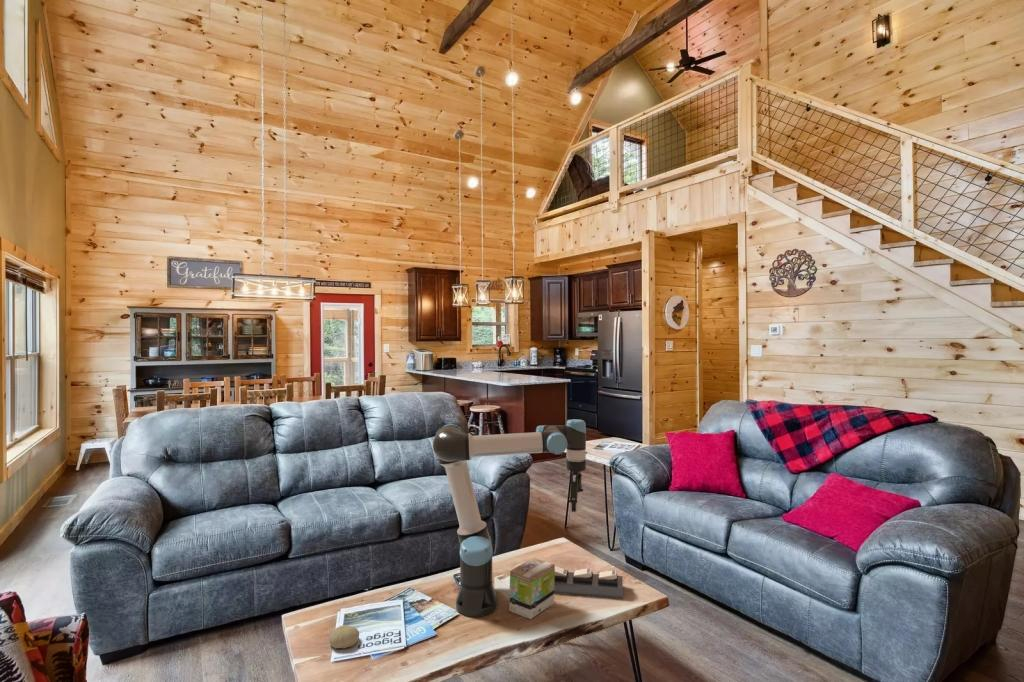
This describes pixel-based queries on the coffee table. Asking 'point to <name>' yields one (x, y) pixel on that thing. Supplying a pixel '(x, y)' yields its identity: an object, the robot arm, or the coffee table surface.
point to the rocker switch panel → (589, 586)
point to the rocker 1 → (560, 571)
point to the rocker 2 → (583, 573)
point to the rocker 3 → (608, 575)
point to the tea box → (532, 587)
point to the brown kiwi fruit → (344, 636)
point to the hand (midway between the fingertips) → (575, 513)
